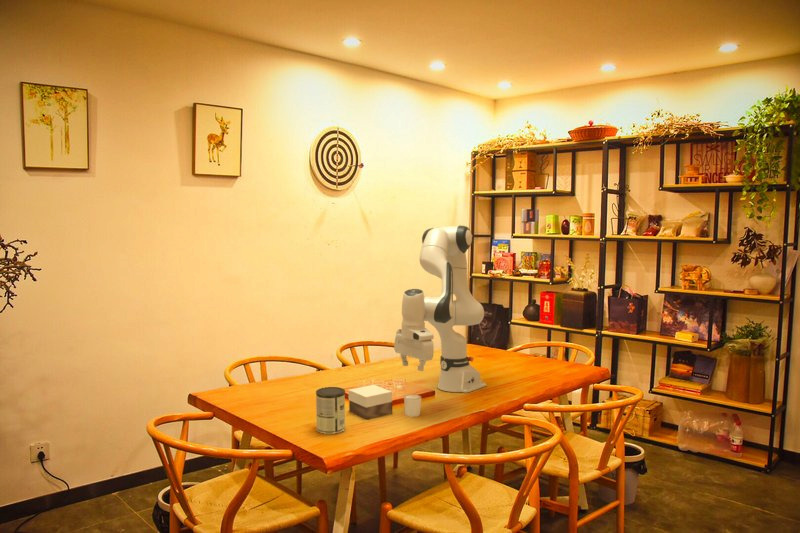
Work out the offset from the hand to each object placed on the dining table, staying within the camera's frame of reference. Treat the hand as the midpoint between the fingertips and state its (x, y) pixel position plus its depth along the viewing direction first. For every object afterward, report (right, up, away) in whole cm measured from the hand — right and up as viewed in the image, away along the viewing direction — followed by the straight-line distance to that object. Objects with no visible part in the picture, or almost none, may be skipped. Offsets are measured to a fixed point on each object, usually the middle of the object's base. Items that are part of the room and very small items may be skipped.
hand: (412, 368), depth 236 cm
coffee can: (-30, -20, -15) cm, 39 cm away
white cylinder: (0, -18, +2) cm, 18 cm away
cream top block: (-16, -13, +3) cm, 21 cm away
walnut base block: (-16, -18, +4) cm, 25 cm away
